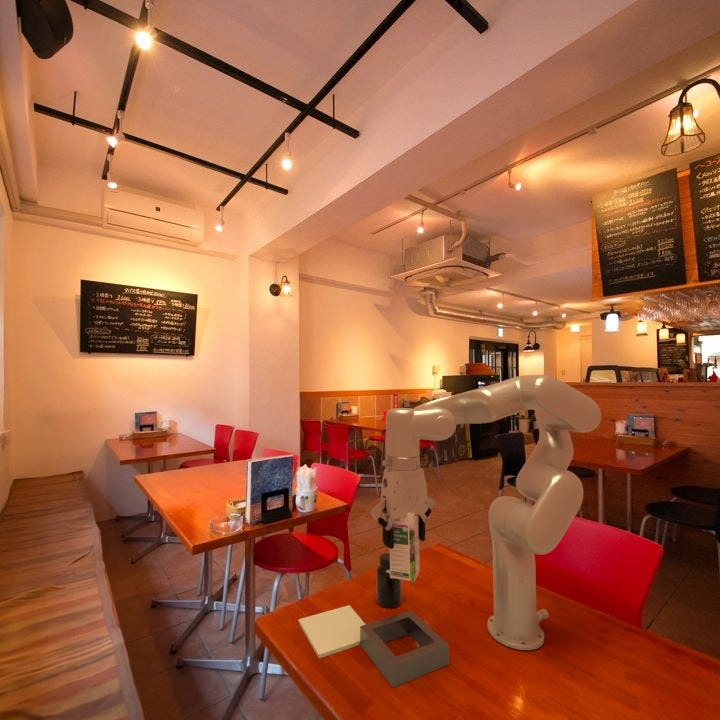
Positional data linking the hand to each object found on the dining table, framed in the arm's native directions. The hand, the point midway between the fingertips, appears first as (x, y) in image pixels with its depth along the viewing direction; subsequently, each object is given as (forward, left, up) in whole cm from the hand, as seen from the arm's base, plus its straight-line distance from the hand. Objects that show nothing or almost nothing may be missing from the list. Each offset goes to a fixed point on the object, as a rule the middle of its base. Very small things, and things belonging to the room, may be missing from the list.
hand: (404, 542), depth 86 cm
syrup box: (0, 0, -7) cm, 7 cm away
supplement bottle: (-8, -19, -24) cm, 32 cm away
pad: (+10, -14, -24) cm, 30 cm away
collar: (0, 0, -24) cm, 24 cm away
